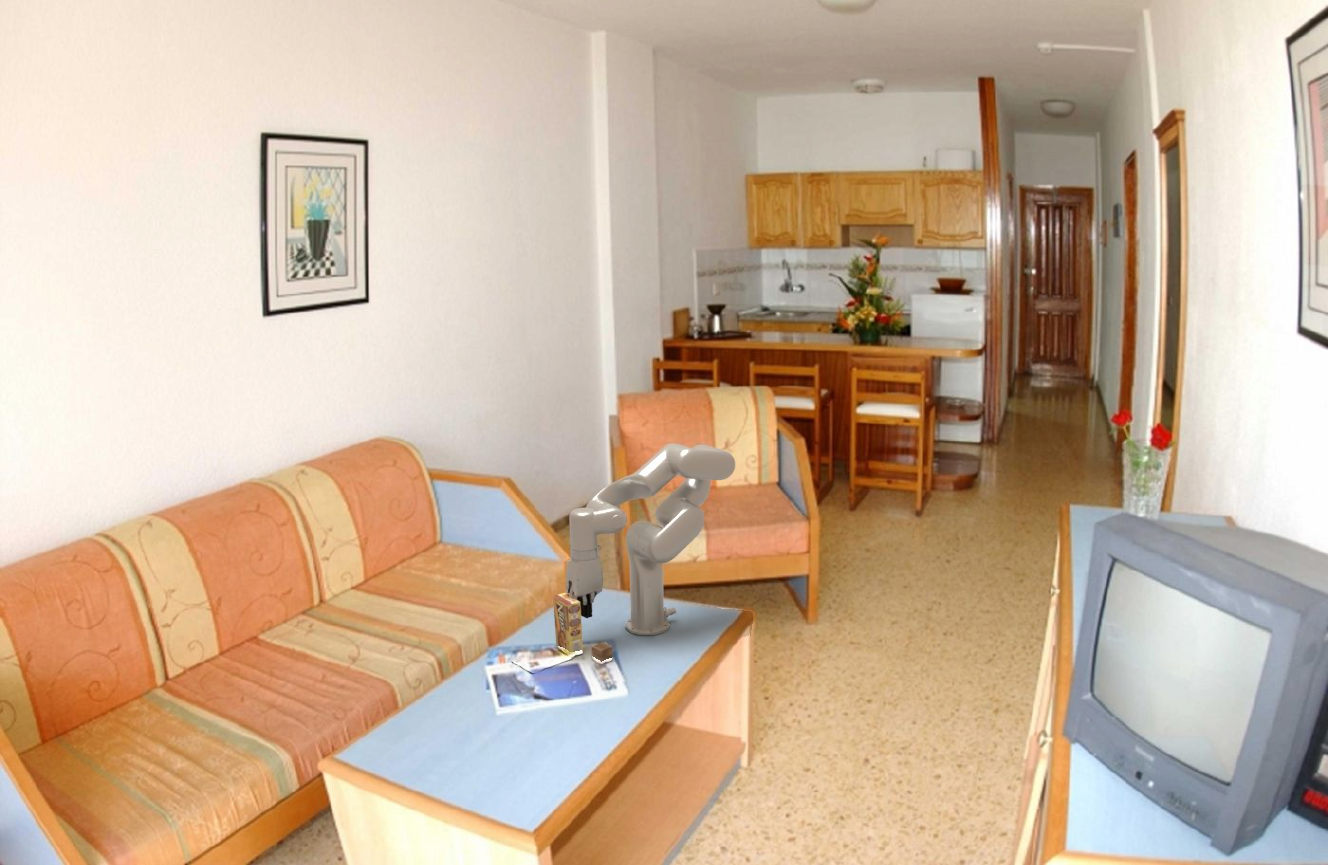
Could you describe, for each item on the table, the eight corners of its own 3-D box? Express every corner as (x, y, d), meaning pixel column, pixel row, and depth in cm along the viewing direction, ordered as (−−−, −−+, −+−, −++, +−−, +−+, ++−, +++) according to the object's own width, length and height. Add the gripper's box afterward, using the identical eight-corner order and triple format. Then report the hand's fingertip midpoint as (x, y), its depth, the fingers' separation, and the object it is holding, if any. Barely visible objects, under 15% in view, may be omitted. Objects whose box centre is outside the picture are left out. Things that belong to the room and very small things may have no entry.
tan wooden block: (603, 655, 274) (603, 642, 273) (613, 660, 271) (612, 646, 270) (592, 660, 271) (591, 646, 270) (601, 665, 268) (600, 651, 267)
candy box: (583, 654, 275) (581, 601, 271) (570, 658, 272) (567, 605, 269) (568, 643, 282) (566, 591, 279) (554, 647, 280) (552, 595, 276)
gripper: (597, 544, 283) (599, 605, 287) (554, 556, 274) (556, 619, 277) (614, 550, 278) (615, 612, 282) (570, 563, 268) (572, 627, 272)
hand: (586, 616), depth 280 cm, fingers closed
